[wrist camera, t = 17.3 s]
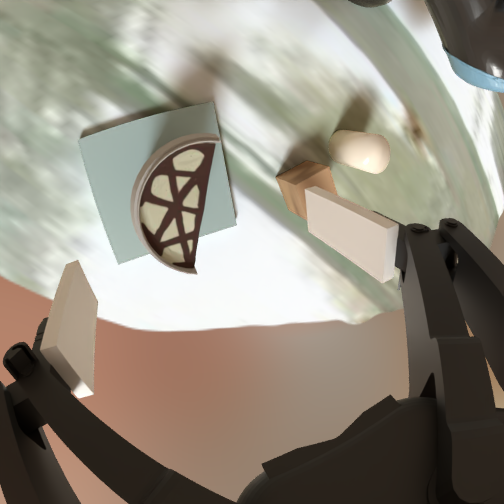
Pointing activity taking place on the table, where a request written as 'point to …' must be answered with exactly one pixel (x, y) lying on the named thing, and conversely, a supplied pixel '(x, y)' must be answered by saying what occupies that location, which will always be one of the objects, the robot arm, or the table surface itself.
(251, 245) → the table surface
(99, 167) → the teal board
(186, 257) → the food container
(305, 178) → the walnut block
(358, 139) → the cream cylinder
